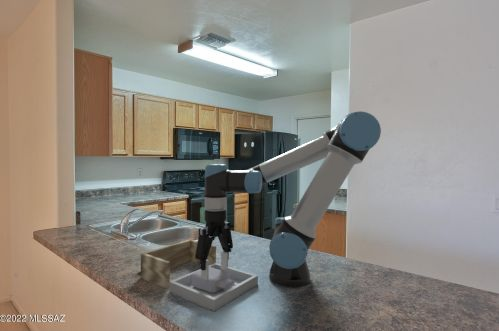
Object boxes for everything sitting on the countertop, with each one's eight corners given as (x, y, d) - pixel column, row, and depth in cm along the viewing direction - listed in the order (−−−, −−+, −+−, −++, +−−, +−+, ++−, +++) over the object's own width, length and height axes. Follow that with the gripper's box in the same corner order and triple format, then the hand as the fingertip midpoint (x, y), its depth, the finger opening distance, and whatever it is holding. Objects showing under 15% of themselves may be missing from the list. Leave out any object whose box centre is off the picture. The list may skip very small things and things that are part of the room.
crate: (215, 267, 118) (216, 245, 118) (166, 288, 99) (167, 262, 99) (190, 259, 128) (190, 239, 127) (140, 277, 108) (140, 253, 108)
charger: (226, 299, 91) (191, 287, 99) (242, 288, 98) (209, 278, 107) (226, 284, 90) (191, 273, 99) (242, 275, 98) (209, 265, 106)
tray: (257, 285, 102) (257, 275, 102) (214, 311, 84) (214, 300, 84) (215, 271, 114) (215, 262, 114) (169, 292, 96) (169, 281, 96)
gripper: (228, 204, 110) (227, 262, 110) (183, 212, 92) (183, 282, 93) (243, 206, 105) (242, 267, 106) (200, 215, 88) (199, 288, 88)
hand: (215, 274), depth 99 cm, fingers closed on charger, 9 cm apart
